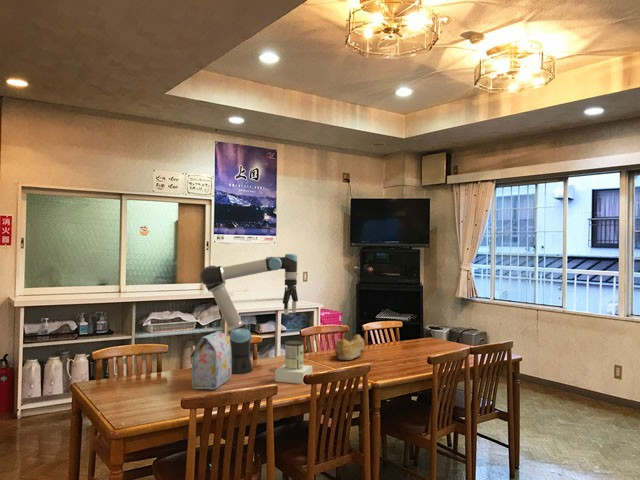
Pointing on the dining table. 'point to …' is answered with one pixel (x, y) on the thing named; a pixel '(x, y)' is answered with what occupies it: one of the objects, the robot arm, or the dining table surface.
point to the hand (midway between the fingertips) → (290, 313)
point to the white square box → (292, 374)
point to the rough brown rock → (349, 348)
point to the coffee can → (294, 355)
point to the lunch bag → (211, 361)
